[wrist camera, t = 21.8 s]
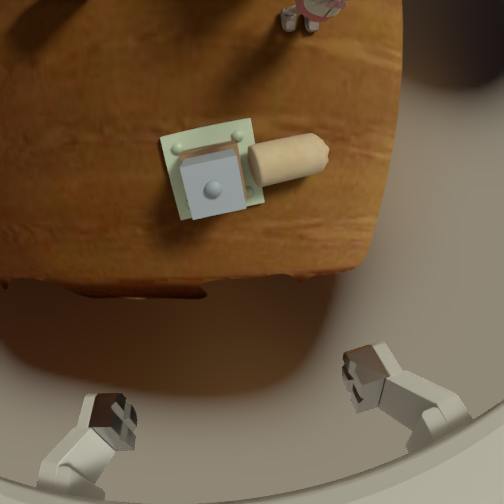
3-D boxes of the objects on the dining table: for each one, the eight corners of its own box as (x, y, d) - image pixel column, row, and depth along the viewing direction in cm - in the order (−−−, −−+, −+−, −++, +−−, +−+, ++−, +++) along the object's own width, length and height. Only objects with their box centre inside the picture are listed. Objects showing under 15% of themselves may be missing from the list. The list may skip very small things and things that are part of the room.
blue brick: (183, 159, 35) (179, 168, 30) (233, 148, 35) (236, 156, 30) (194, 205, 38) (192, 221, 33) (242, 195, 38) (247, 209, 33)
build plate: (181, 217, 44) (180, 221, 42) (161, 136, 38) (159, 137, 37) (263, 200, 44) (264, 203, 43) (249, 117, 38) (250, 118, 37)
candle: (255, 190, 41) (323, 174, 42) (264, 183, 35) (339, 166, 37) (244, 152, 40) (311, 138, 42) (250, 139, 35) (326, 125, 36)
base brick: (193, 199, 42) (192, 209, 38) (182, 151, 38) (179, 156, 35) (243, 189, 42) (247, 197, 38) (234, 139, 39) (237, 143, 35)
